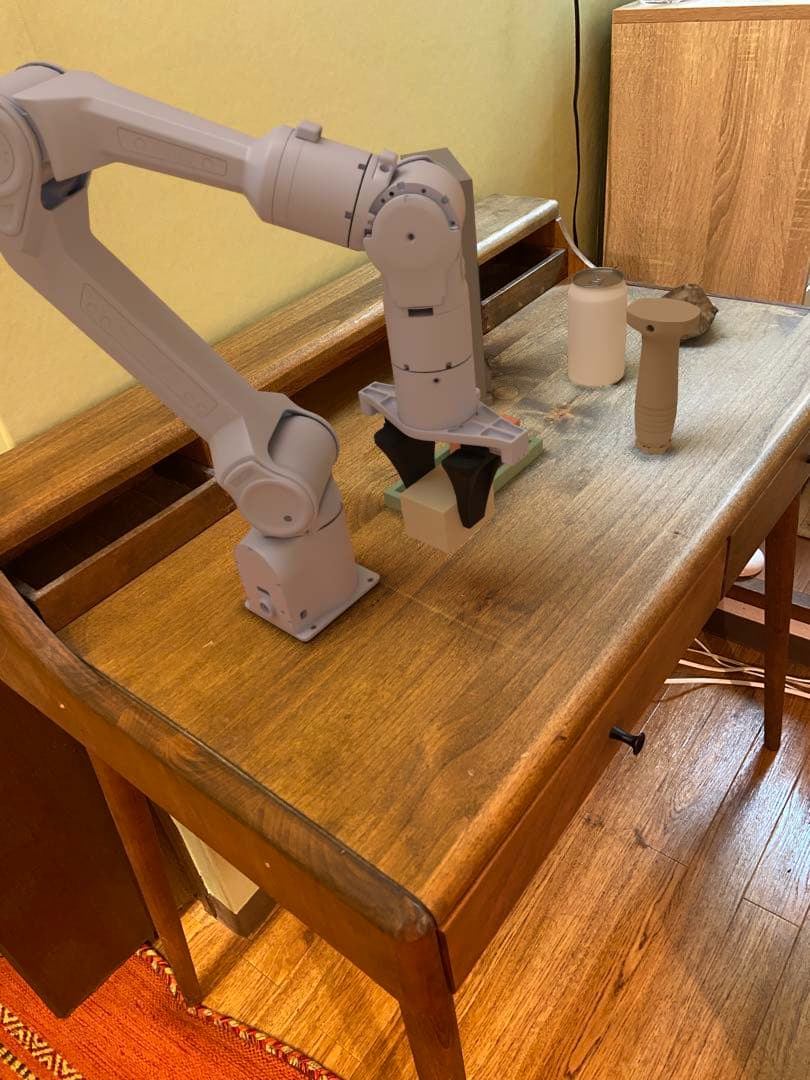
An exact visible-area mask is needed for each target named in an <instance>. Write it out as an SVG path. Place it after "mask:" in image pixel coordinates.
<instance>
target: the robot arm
mask: <svg viewBox="0 0 810 1080" xmlns="http://www.w3.org/2000/svg"><path fill="white" fill-rule="evenodd" d="M322 133H323V126H322V124H320V123H317V122H313V121H310V120H307V119H303V120H302V121H300V123H298V124H297V125H296V127H293V126H289V125H286V124H280V125H278V126H276V127H275V128H272V130H270V131H268V132H267V133H266V134H264V135H263V136H261V137H254V136H252V135H249V134H247V133H244V132H242V131H238V130H236V129H234V128H231V127H228V126H226V125H223V124H220V123H217V122H216V121H213V120H210V119H207V118H204V117H202V116H199V115H197V114H194V113H191V112H189V111H186V110H183V109H181V108H178V107H176V106H173V105H170V104H168V103H165V102H163V101H160V100H157V99H156V98H155V99H154V98H152V97H149V96H148V95H144V94H141V93H139V92H136V91H133V90H131V89H128V88H126V87H122V86H120V85H118V84H115V83H113V82H111V81H109V80H108V79H106V78H103V77H102V76H100V75H98V74H97V73H95V72H92V71H88V70H81V69H72V70H69V69H67V68H65V67H64V66H61V65H59V64H57V63H54V62H50V61H45V60H31V61H29V62H26V63H23V64H22V65H19V66H17V67H16V68H15V69H14V70H13V71H11V72H7V73H6V74H3V75H0V254H1V256H2V257H3V259H4V260H5V262H6V263H7V264H8V266H9V267H10V268H11V269H12V270H13V271H14V272H15V273H16V274H17V275H18V276H19V277H20V278H21V279H22V280H24V282H26V283H27V284H28V285H29V286H30V287H31V288H33V290H35V292H37V293H38V294H39V295H40V296H41V297H43V298H44V299H45V301H47V302H48V303H50V304H51V305H52V306H53V307H54V308H55V309H56V310H57V311H58V312H60V313H61V314H62V315H63V316H64V317H65V318H66V319H67V320H68V321H70V322H71V324H73V325H74V326H75V327H76V328H77V329H79V331H81V332H82V333H83V334H84V335H85V336H87V337H88V338H89V339H90V340H91V341H92V342H93V343H94V344H95V345H97V346H98V347H99V348H100V349H101V350H102V351H104V352H105V353H106V354H107V355H108V356H109V357H110V358H111V359H112V360H113V361H114V362H116V363H117V364H118V365H119V366H120V367H122V368H123V369H124V370H125V371H126V372H127V373H128V374H130V375H131V376H132V377H133V378H134V379H135V380H136V381H137V382H139V384H141V385H142V387H144V388H145V389H146V390H147V391H148V392H150V393H151V394H152V396H154V397H155V398H156V399H157V400H159V401H160V402H161V403H162V404H163V405H165V406H166V407H167V408H168V409H169V410H170V411H171V412H172V413H173V414H174V415H175V416H177V417H178V418H179V419H180V420H181V421H182V422H183V423H185V424H186V425H187V426H188V427H189V428H190V429H191V430H192V431H194V432H195V433H196V434H197V435H198V436H199V437H200V438H202V439H203V440H204V441H205V442H206V443H207V444H208V447H209V450H210V455H211V461H212V466H213V473H214V478H215V481H216V483H217V484H218V485H219V486H220V488H222V489H223V490H224V491H225V492H226V493H227V494H229V496H230V497H231V498H232V500H233V501H234V503H235V505H236V507H237V509H238V512H239V513H240V515H241V516H242V518H243V519H244V520H245V522H247V524H249V525H250V526H251V527H250V529H249V531H248V532H247V533H246V534H245V535H244V536H243V538H242V539H241V540H240V541H239V542H238V543H237V544H236V545H235V547H234V548H233V558H234V562H235V566H236V569H237V571H238V574H239V578H240V581H241V584H242V586H243V590H244V593H245V596H246V600H245V602H244V607H245V609H247V610H248V611H250V612H252V613H254V614H255V615H257V616H258V617H261V618H262V619H264V620H265V621H267V622H269V623H271V624H272V625H274V626H275V627H277V628H279V629H280V630H282V631H284V632H286V633H287V634H289V635H291V636H292V637H294V638H296V639H297V640H299V641H301V642H308V641H310V640H311V639H313V638H314V637H315V636H316V635H317V634H319V633H320V632H321V631H322V630H324V629H325V628H326V627H327V626H328V625H329V624H331V623H332V622H333V621H334V620H335V619H337V618H338V617H339V616H340V615H341V614H343V613H344V612H345V611H346V610H347V609H349V607H351V606H352V605H354V604H355V603H356V602H357V601H358V600H359V599H360V598H361V597H363V596H364V595H365V594H366V593H368V592H369V591H370V590H371V589H373V588H374V586H376V585H377V584H378V583H379V582H380V579H381V575H380V574H379V573H378V572H375V571H373V570H371V569H369V568H367V567H365V566H363V565H360V564H359V563H356V559H355V553H354V548H353V543H352V539H351V534H350V530H349V524H348V519H347V514H346V510H345V505H344V501H343V500H344V499H343V495H342V492H341V490H340V487H339V486H338V485H337V483H336V481H335V479H334V475H333V468H334V466H335V464H336V463H337V461H338V459H339V456H340V452H341V445H340V444H341V443H340V439H339V435H338V434H337V431H336V430H335V429H334V427H333V426H332V425H331V423H329V422H328V421H327V420H326V419H325V418H323V417H322V416H320V415H319V414H316V413H314V412H311V411H309V410H307V409H304V408H302V407H300V406H298V405H297V404H296V403H294V402H293V401H292V400H291V399H290V398H289V397H288V396H287V395H286V394H285V393H281V392H273V391H260V390H258V389H256V388H255V387H254V386H253V385H252V384H251V383H249V381H247V379H245V377H244V376H242V375H241V374H240V373H239V372H238V371H237V370H236V369H235V368H234V367H233V366H232V365H231V364H230V363H229V362H228V361H227V360H226V359H224V358H223V356H222V355H220V354H219V353H218V352H217V351H216V350H215V349H214V348H213V347H212V346H211V345H210V344H209V343H207V342H206V341H205V339H203V338H202V337H201V336H200V335H199V334H198V332H196V331H195V330H194V329H193V328H192V327H191V326H189V325H188V323H186V321H184V319H183V318H181V317H180V315H178V314H177V313H176V312H175V311H174V310H173V309H172V308H171V307H170V306H168V304H167V303H166V302H165V301H163V300H162V299H161V298H160V297H159V296H158V295H157V294H156V293H155V292H154V291H153V290H152V289H151V288H149V286H148V285H146V283H144V282H143V280H142V279H140V278H139V276H137V275H136V274H135V273H134V272H133V271H132V270H130V268H128V267H127V265H125V264H124V263H123V262H122V261H121V260H120V258H118V257H117V256H116V255H115V254H114V253H113V252H112V251H111V250H110V249H109V248H108V247H107V246H106V245H105V244H103V242H101V241H100V240H99V239H98V238H97V237H96V235H94V234H93V232H92V230H91V223H90V206H89V187H90V183H91V179H92V174H93V171H94V170H97V169H100V168H102V167H106V166H108V165H112V164H115V163H119V164H125V165H127V166H132V167H135V168H140V169H143V170H148V171H150V172H154V173H159V174H163V175H167V176H171V177H174V178H179V179H182V180H186V181H188V182H189V181H190V182H193V183H198V184H201V185H205V186H209V187H214V188H216V189H220V190H225V191H229V192H232V193H235V194H240V195H243V196H244V197H245V198H246V200H247V201H248V203H249V205H250V206H251V208H252V209H253V211H254V213H255V214H256V216H257V217H258V219H259V220H260V221H262V222H263V223H266V224H269V225H272V226H275V227H279V228H281V229H282V228H283V229H285V230H289V231H292V232H295V233H298V234H300V235H301V234H302V235H304V236H307V237H310V238H314V239H317V240H320V241H324V242H327V243H330V244H333V245H337V246H340V247H341V248H346V249H349V250H351V251H355V252H365V253H366V256H367V258H368V259H369V261H370V263H371V264H372V265H373V267H375V269H376V270H377V271H378V272H380V276H381V284H382V292H383V293H382V305H383V313H384V320H385V327H386V333H387V334H386V335H387V341H388V347H389V354H390V362H391V368H392V377H393V383H394V384H388V383H382V382H379V381H374V382H372V383H370V384H369V385H367V386H366V387H364V388H362V389H361V390H359V391H358V393H357V394H358V400H359V407H360V410H361V414H362V415H365V416H367V417H373V416H375V415H376V414H379V415H381V416H383V420H384V422H383V423H382V427H381V428H380V429H378V430H376V431H375V433H374V434H373V442H374V445H376V446H377V448H379V450H380V451H382V454H384V455H385V456H386V458H387V459H388V460H389V461H390V463H391V464H392V466H393V467H394V470H396V472H397V474H398V476H399V478H400V479H401V480H402V482H403V484H404V486H405V488H406V489H407V488H409V487H410V486H411V485H413V484H414V483H415V482H417V481H418V480H419V479H421V478H422V477H423V476H425V475H426V474H427V473H429V472H430V471H431V470H433V469H434V468H435V453H436V442H437V443H445V444H448V443H456V444H460V449H457V450H455V451H454V452H453V453H451V454H450V455H449V456H447V457H446V458H445V459H443V460H442V461H441V465H442V467H443V468H444V470H445V471H446V473H447V475H448V477H449V479H450V481H451V483H452V486H453V488H454V492H455V495H456V500H457V507H458V512H459V516H460V520H461V523H462V525H463V527H465V528H468V529H471V528H472V527H473V526H474V525H475V524H477V523H478V522H479V521H480V520H481V519H482V518H484V517H485V511H486V506H487V501H488V497H489V493H490V489H491V486H492V483H493V480H494V477H495V475H496V472H497V470H498V468H499V466H500V464H501V462H503V463H505V464H508V465H510V466H514V465H515V464H516V463H517V462H519V461H520V460H521V459H523V458H524V457H525V456H526V455H527V454H528V453H529V436H528V435H529V429H528V428H524V427H521V426H520V427H519V426H517V425H515V424H513V423H511V422H509V421H508V420H506V419H505V418H504V417H502V416H501V415H499V414H498V413H499V412H497V411H495V410H494V409H492V408H491V407H490V406H486V405H485V404H484V403H482V402H481V401H479V399H480V398H481V395H480V389H478V388H476V383H475V370H474V357H473V342H472V329H471V316H470V303H469V290H468V285H467V282H466V280H465V278H464V276H465V271H466V269H465V260H464V258H463V255H462V244H461V239H462V234H461V231H462V227H463V222H464V218H465V209H466V208H465V197H464V192H463V189H462V187H461V185H460V183H459V181H458V179H457V178H456V176H455V175H454V174H453V173H452V172H451V171H450V170H449V169H448V168H446V167H445V166H443V165H441V164H439V163H437V162H435V161H433V160H432V159H431V158H430V157H429V156H426V155H417V156H411V157H408V158H405V159H403V160H401V159H400V160H399V154H398V153H397V152H396V151H392V150H389V149H386V148H383V149H382V150H381V152H380V153H379V154H377V153H373V152H370V151H367V150H364V149H361V148H357V147H354V146H351V145H348V144H346V143H342V142H339V141H336V140H333V139H330V138H326V137H324V136H322V135H323V134H322ZM496 412H497V413H496Z"/></svg>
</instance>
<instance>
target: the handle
mask: <svg viewBox="0 0 810 1080" xmlns="http://www.w3.org/2000/svg"><path fill="white" fill-rule="evenodd" d="M700 312H701V310H700V307H697V306H695V305H693V304H691V303H688V302H685V301H681V300H675V299H669V298H661V297H643V298H639V299H636V300H634V301H632V302H631V303H630V304H628V305H627V314H626V321H627V325H628V326H629V327H631V328H632V329H634V330H635V331H637V332H638V333H640V334H641V347H640V357H639V364H638V365H639V366H638V372H637V373H638V374H637V381H636V388H635V396H634V411H633V412H634V413H633V414H634V417H633V419H634V432H635V437H636V438H635V441H634V442H635V448H636V449H638V450H640V451H641V453H642V454H643V455H645V456H651V455H660V456H661V455H664V454H666V451H667V450H668V449H670V448H671V445H672V444H671V443H672V436H673V433H674V428H675V424H676V420H677V419H676V418H677V412H678V403H679V402H678V401H679V362H680V343H681V342H680V338H681V336H682V335H685V334H687V333H689V332H691V331H692V330H694V329H695V328H696V327H697V326H698V324H699V320H700Z"/></svg>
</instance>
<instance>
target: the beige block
mask: <svg viewBox="0 0 810 1080" xmlns="http://www.w3.org/2000/svg"><path fill="white" fill-rule="evenodd" d="M400 501H401V508H402V512H401V513H402V520H403V527H404V533H405V535H406V536H408V537H410V538H412V539H414V540H416V541H419V542H421V543H423V544H425V545H427V546H429V547H432V548H434V549H436V550H439V551H441V552H443V553H445V554H447V555H450V554H451V553H452V552H453V551H454V550H456V549H457V548H458V547H459V546H460V545H461V544H463V543H464V542H465V541H466V540H467V539H468V538H470V537H471V536H472V535H473V534H475V533H476V531H478V530H479V529H480V528H481V527H482V526H483V525H485V524H487V522H489V520H490V519H492V518H493V517H494V516H495V515H496V507H495V493H494V491H493V483H492V486H491V489H490V493H489V497H488V501H487V506H486V511H485V517H484V518H482V519H481V520H480V521H479V522H478V523H477V524H475V525H474V526H473V527H472V528H471V529H468V528H465V527H463V525H462V523H461V520H460V516H459V512H458V507H457V500H456V495H455V492H454V488H453V486H452V483H451V481H450V479H449V477H448V475H447V473H446V471H445V470H444V468H443V467H442V465H441V464H439V465H438V466H437V467H435V468H434V469H433V470H431V471H430V472H429V473H427V474H426V475H425V476H423V477H422V478H421V479H419V480H418V481H417V482H415V483H414V484H413V485H411V486H410V487H409V488H407V489H406V490H405V491H403V492H402V493H401V494H400Z"/></svg>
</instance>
